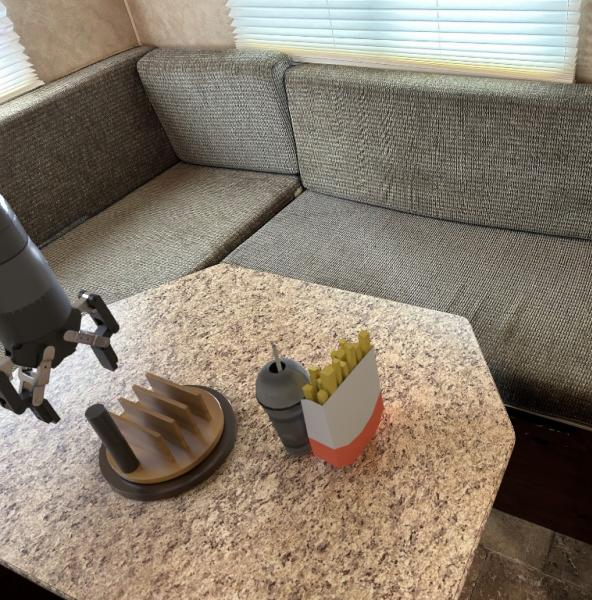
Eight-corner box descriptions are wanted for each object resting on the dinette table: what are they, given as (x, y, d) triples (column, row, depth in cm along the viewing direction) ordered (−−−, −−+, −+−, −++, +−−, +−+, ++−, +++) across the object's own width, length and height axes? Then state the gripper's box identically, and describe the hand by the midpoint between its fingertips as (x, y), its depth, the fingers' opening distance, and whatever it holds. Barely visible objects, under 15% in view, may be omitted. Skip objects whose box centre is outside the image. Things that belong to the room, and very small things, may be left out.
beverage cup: (309, 413, 88) (279, 311, 75) (337, 443, 84) (311, 340, 71) (265, 442, 85) (227, 340, 72) (293, 475, 81) (257, 373, 68)
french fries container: (314, 464, 82) (286, 374, 70) (359, 408, 88) (341, 317, 77) (342, 478, 80) (318, 388, 68) (386, 420, 86) (371, 328, 75)
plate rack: (166, 378, 94) (136, 318, 86) (246, 410, 88) (222, 349, 80) (83, 458, 84) (41, 399, 75) (168, 501, 77) (132, 442, 69)
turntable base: (136, 529, 77) (132, 523, 76) (82, 443, 88) (77, 437, 87) (263, 439, 86) (260, 433, 85) (198, 372, 97) (195, 365, 96)
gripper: (48, 240, 67) (107, 344, 77) (-77, 322, 58) (10, 428, 68) (94, 254, 64) (150, 361, 74) (-29, 343, 55) (54, 450, 65)
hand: (83, 393), depth 71 cm, fingers open, 8 cm apart
